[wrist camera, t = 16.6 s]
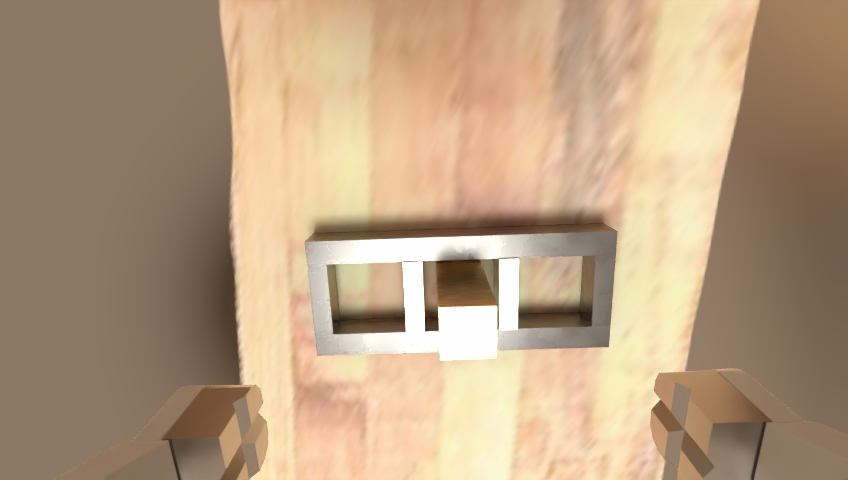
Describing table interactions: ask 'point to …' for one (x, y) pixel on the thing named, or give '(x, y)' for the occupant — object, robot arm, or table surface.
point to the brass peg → (465, 312)
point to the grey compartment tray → (463, 245)
